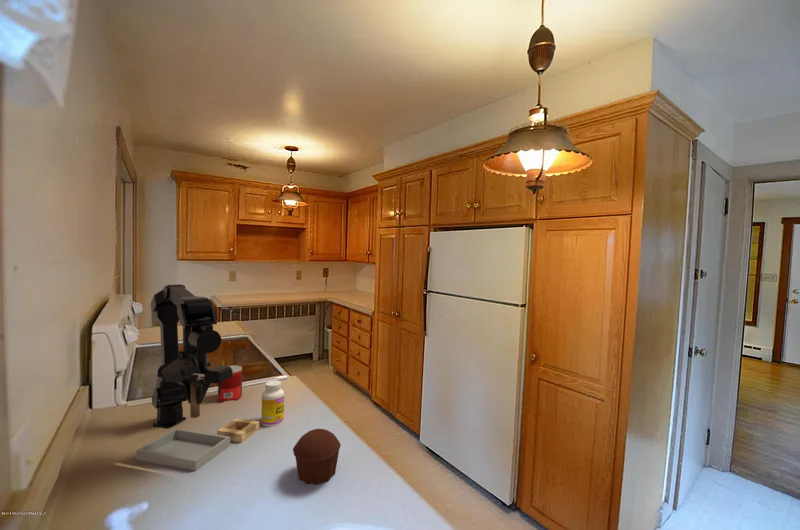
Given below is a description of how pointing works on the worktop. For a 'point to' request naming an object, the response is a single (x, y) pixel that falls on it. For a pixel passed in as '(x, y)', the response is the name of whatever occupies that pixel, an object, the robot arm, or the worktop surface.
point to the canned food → (231, 386)
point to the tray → (183, 449)
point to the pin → (193, 402)
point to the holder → (239, 429)
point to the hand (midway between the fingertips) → (195, 403)
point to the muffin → (316, 456)
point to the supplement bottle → (272, 404)
